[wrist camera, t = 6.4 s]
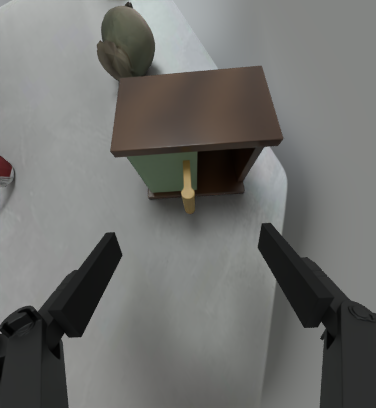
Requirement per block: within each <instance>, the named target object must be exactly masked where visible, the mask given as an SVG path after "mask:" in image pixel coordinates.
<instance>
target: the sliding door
mask: <svg viewBox="0 0 376 408" xmlns="http://www.w3.org/2000/svg"><path fill="white" fill-rule="evenodd" d="M127 158H128V160H129V161H130V162H131V164H132V165H133V167H134V168H135V170H136V171H137V172H138V174H139V175H140V177H141V178H142V179H143V181H144V182H145V184H146V185H147V187H148V188H149V189H150V191H151V192H152V193H157V192H172V191H181V196H182V200H183V204H184V208H185V211H186V213H188V214H192V213H194V211H195V192H194V190H197V152H184V153H170V154H157V155H143V156H129V157H127Z"/></svg>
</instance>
